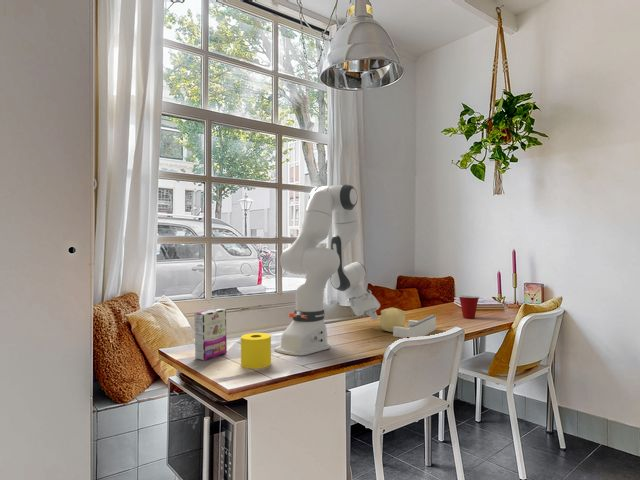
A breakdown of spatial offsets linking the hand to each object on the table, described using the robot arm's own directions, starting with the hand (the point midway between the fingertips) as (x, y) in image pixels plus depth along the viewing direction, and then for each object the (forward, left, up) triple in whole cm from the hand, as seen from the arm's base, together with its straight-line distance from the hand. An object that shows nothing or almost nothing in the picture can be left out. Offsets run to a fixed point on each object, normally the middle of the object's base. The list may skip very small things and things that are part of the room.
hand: (376, 318), depth 195 cm
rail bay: (0, -18, -5) cm, 19 cm away
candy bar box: (-74, +30, -5) cm, 80 cm away
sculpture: (0, -8, -5) cm, 10 cm away
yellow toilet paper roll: (-72, +10, -5) cm, 73 cm away
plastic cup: (+52, -29, -5) cm, 60 cm away
